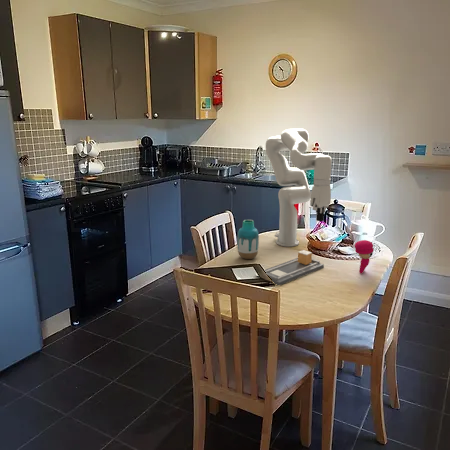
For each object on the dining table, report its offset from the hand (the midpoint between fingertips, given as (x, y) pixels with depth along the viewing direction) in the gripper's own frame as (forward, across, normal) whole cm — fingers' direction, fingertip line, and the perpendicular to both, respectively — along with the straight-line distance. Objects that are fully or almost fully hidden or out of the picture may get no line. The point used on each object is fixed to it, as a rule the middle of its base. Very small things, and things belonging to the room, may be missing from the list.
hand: (320, 220), depth 203 cm
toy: (+21, -4, +21) cm, 30 cm away
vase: (+21, +22, -27) cm, 40 cm away
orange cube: (+19, +10, -1) cm, 21 cm away
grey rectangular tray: (+21, +20, -1) cm, 29 cm away
